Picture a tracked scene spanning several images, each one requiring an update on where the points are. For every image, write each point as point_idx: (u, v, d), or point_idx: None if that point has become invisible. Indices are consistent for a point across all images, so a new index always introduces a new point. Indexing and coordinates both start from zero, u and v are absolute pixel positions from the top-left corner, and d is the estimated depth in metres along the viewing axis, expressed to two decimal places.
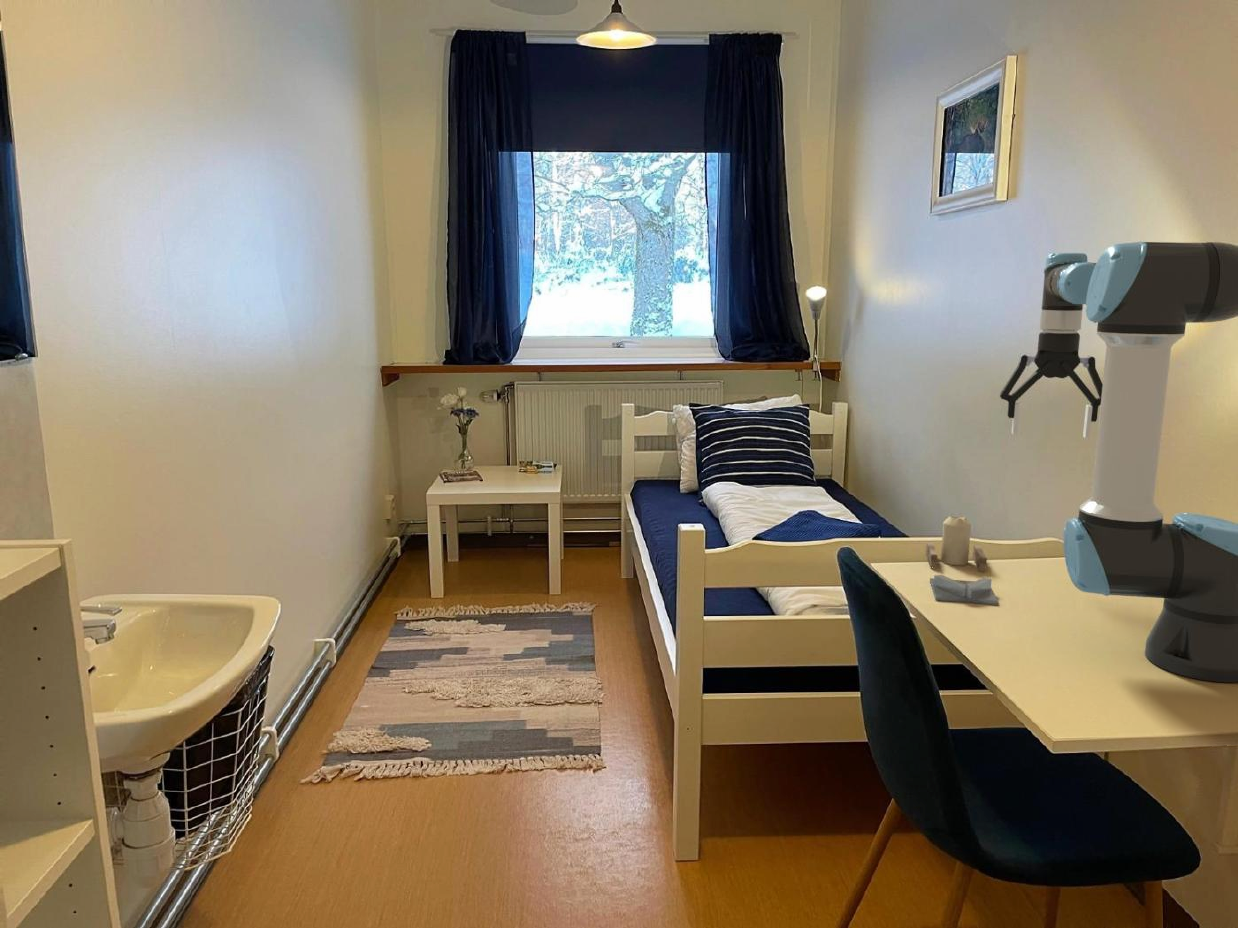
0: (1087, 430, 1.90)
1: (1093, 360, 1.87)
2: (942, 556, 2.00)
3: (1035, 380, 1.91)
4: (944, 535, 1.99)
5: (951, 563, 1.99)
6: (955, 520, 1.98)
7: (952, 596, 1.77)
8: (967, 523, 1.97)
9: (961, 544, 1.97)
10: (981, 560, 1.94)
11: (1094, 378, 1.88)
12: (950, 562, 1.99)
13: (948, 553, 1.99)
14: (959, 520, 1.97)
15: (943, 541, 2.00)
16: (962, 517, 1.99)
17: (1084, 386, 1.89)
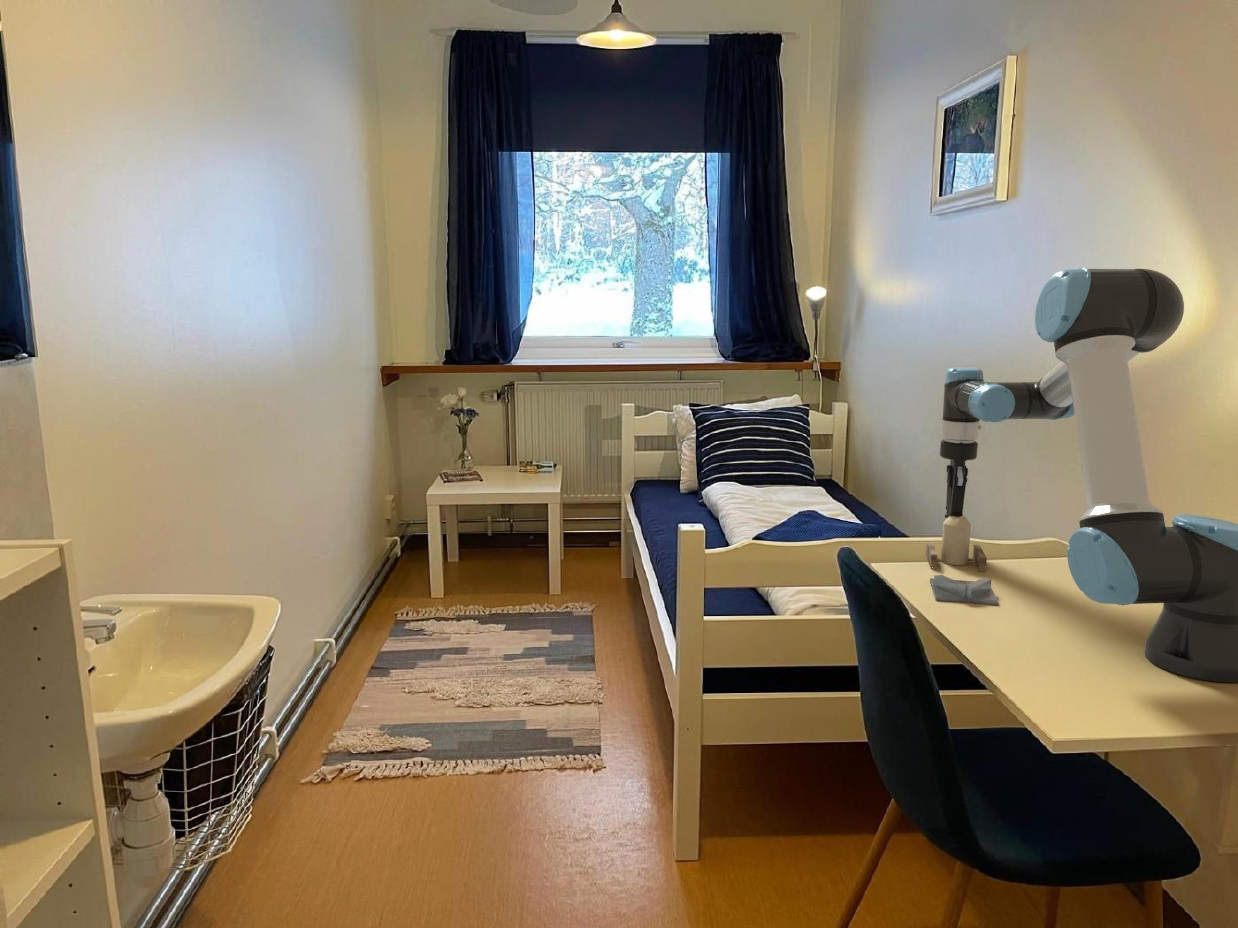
0: None
1: (954, 480, 1.98)
2: (942, 556, 2.00)
3: (949, 487, 2.05)
4: (944, 535, 1.99)
5: (951, 563, 1.99)
6: (955, 520, 1.98)
7: (952, 596, 1.77)
8: (967, 523, 1.97)
9: (961, 544, 1.97)
10: (981, 560, 1.94)
11: (952, 492, 2.00)
12: (950, 562, 1.99)
13: (948, 553, 1.99)
14: (959, 520, 1.97)
15: (943, 541, 2.00)
16: (962, 517, 1.99)
17: (950, 497, 2.03)
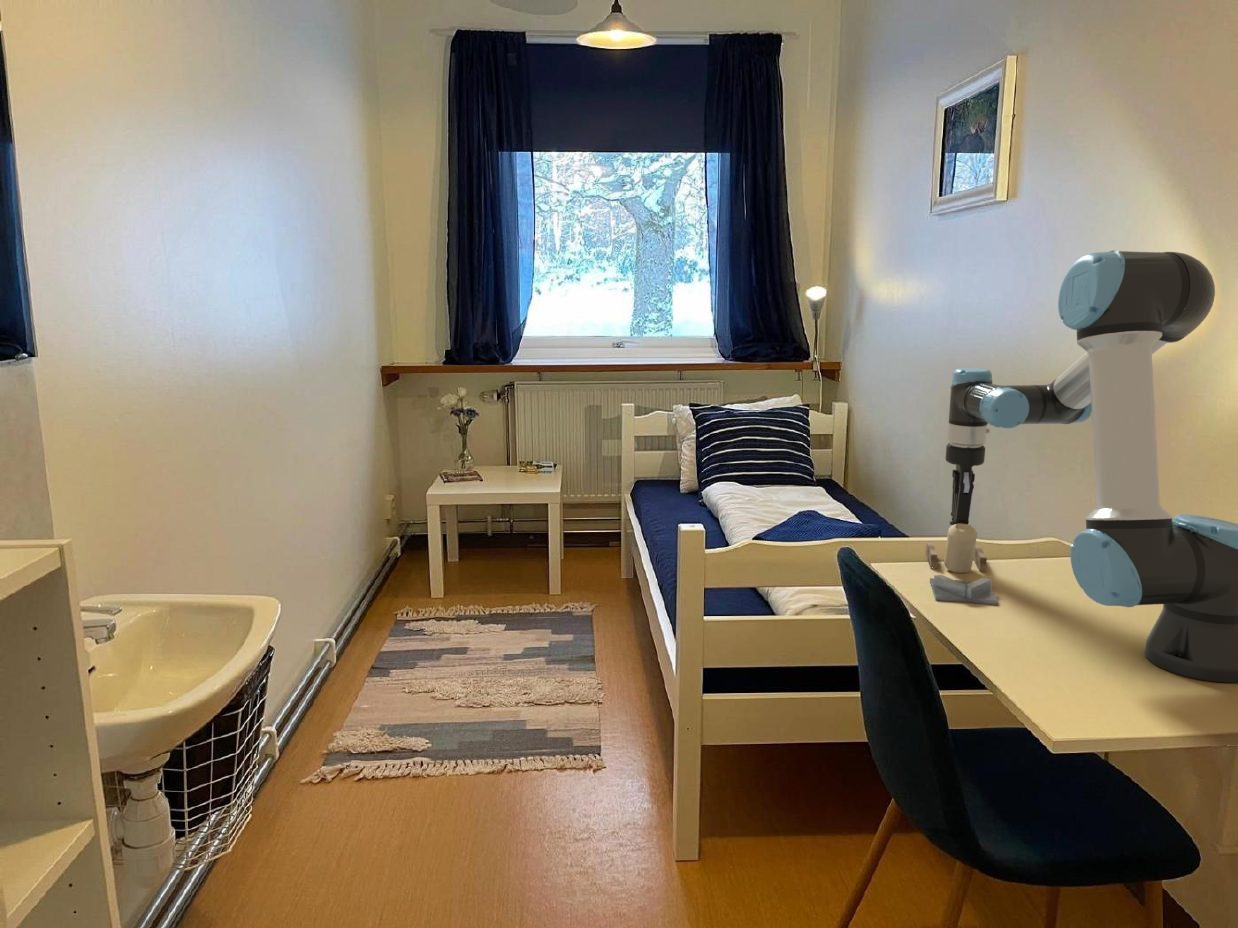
0: None
1: (960, 487, 1.89)
2: (945, 562, 1.94)
3: (955, 492, 1.96)
4: (948, 544, 1.92)
5: (954, 571, 1.93)
6: (960, 533, 1.89)
7: (952, 596, 1.77)
8: (973, 535, 1.89)
9: (966, 555, 1.90)
10: (981, 560, 1.94)
11: (957, 499, 1.92)
12: (953, 570, 1.93)
13: (951, 562, 1.92)
14: (965, 533, 1.89)
15: (947, 549, 1.93)
16: (968, 525, 1.90)
17: (955, 503, 1.94)
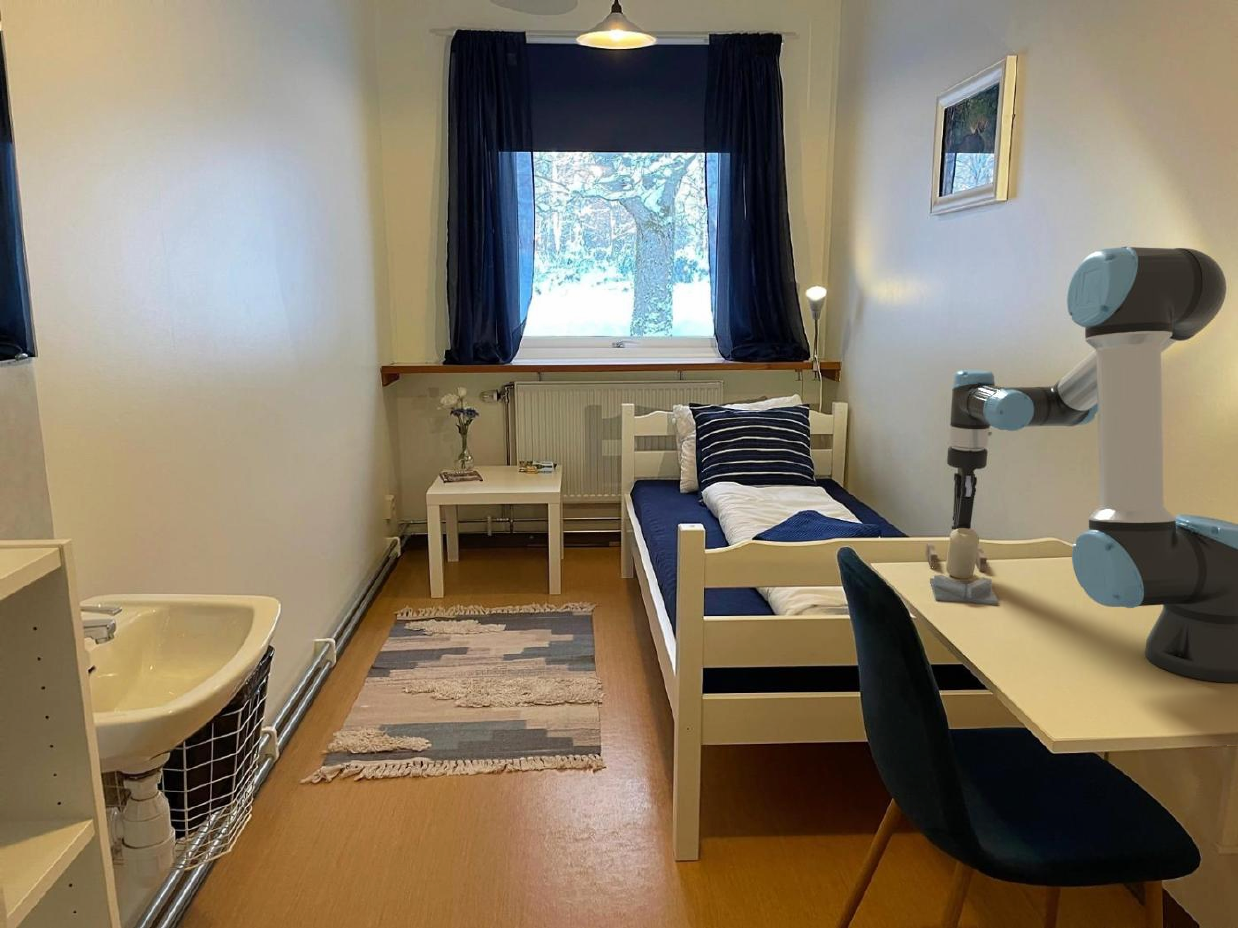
0: None
1: (962, 491, 1.86)
2: (947, 567, 1.91)
3: (956, 496, 1.93)
4: (950, 549, 1.88)
5: (956, 576, 1.90)
6: (963, 537, 1.86)
7: (952, 596, 1.77)
8: (975, 539, 1.86)
9: (968, 560, 1.87)
10: (981, 560, 1.94)
11: (959, 503, 1.88)
12: (955, 575, 1.90)
13: (953, 567, 1.89)
14: (967, 538, 1.85)
15: (949, 554, 1.89)
16: (970, 530, 1.87)
17: (957, 507, 1.91)
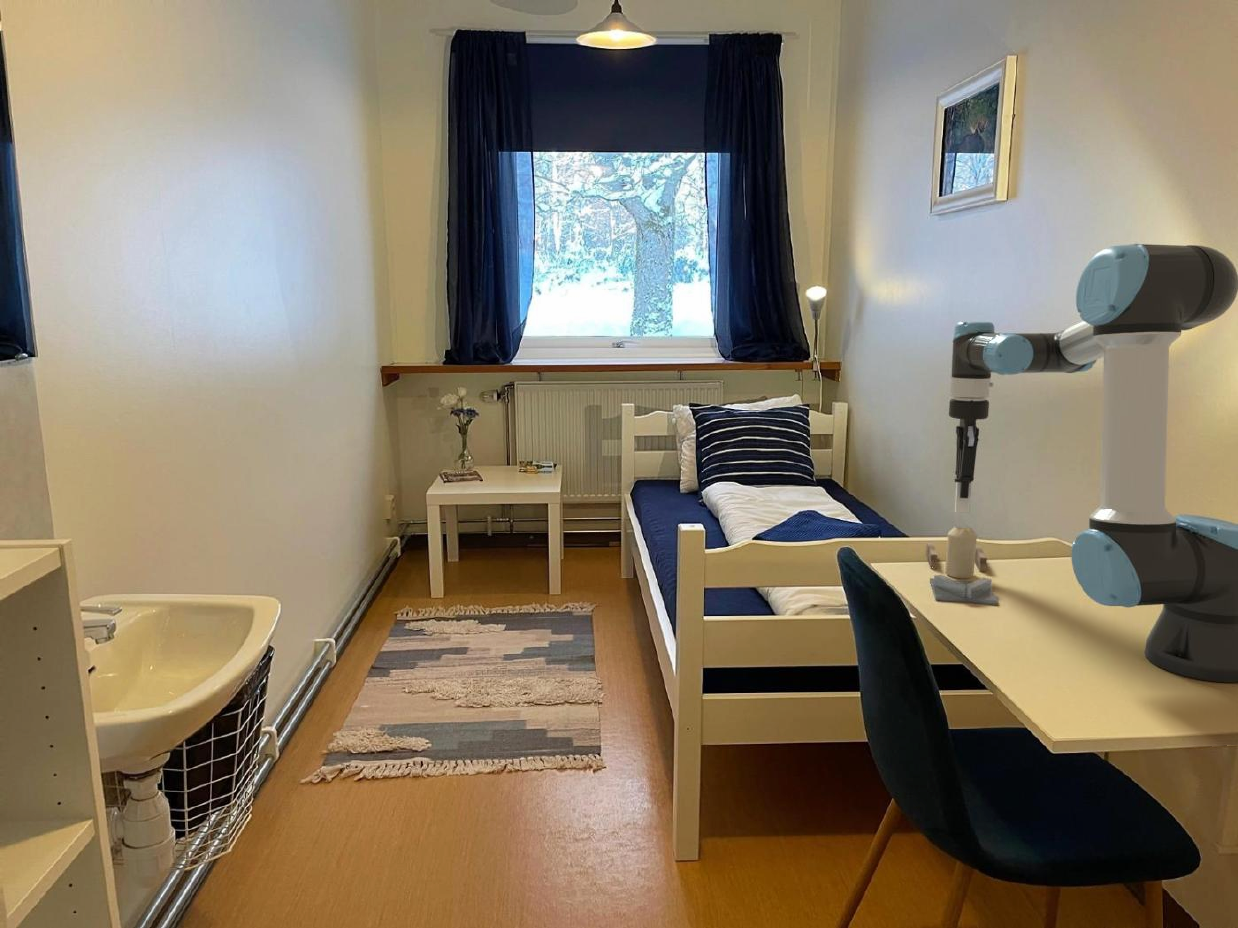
0: (955, 504, 1.94)
1: (964, 440, 1.86)
2: (947, 568, 1.92)
3: (959, 449, 1.93)
4: (949, 547, 1.91)
5: (956, 576, 1.90)
6: (960, 531, 1.89)
7: (952, 596, 1.77)
8: (973, 534, 1.89)
9: (967, 556, 1.89)
10: (981, 560, 1.94)
11: (962, 454, 1.89)
12: (955, 575, 1.90)
13: (953, 565, 1.90)
14: (964, 531, 1.89)
15: (948, 553, 1.91)
16: (967, 528, 1.91)
17: (960, 459, 1.91)
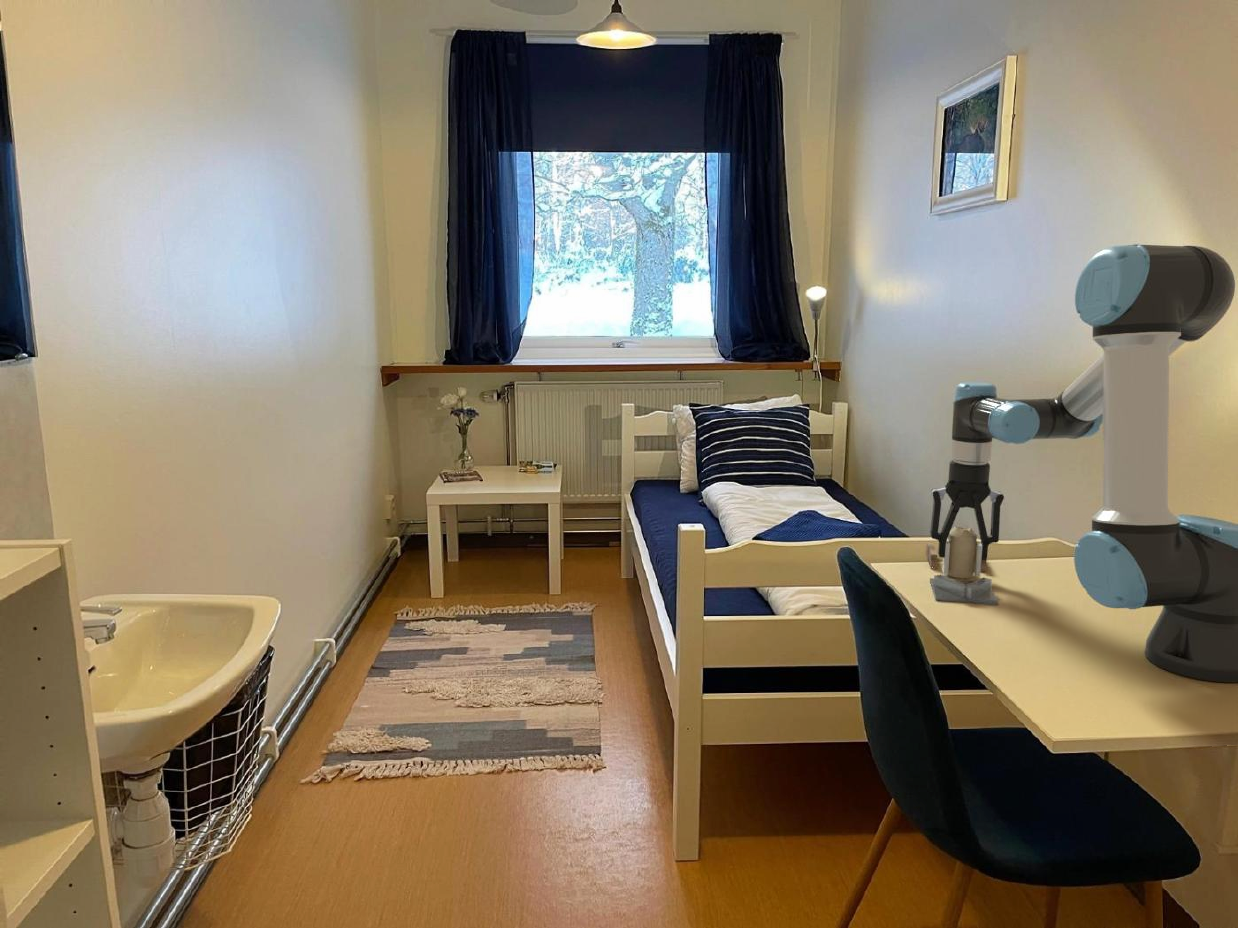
0: (978, 569, 1.88)
1: (1001, 498, 1.85)
2: None
3: (955, 514, 1.87)
4: None
5: (956, 576, 1.90)
6: (960, 531, 1.89)
7: (952, 596, 1.77)
8: (973, 534, 1.89)
9: (967, 556, 1.89)
10: (981, 560, 1.94)
11: (994, 515, 1.85)
12: (955, 575, 1.90)
13: (953, 565, 1.90)
14: (965, 531, 1.89)
15: None
16: (968, 528, 1.91)
17: (983, 522, 1.86)
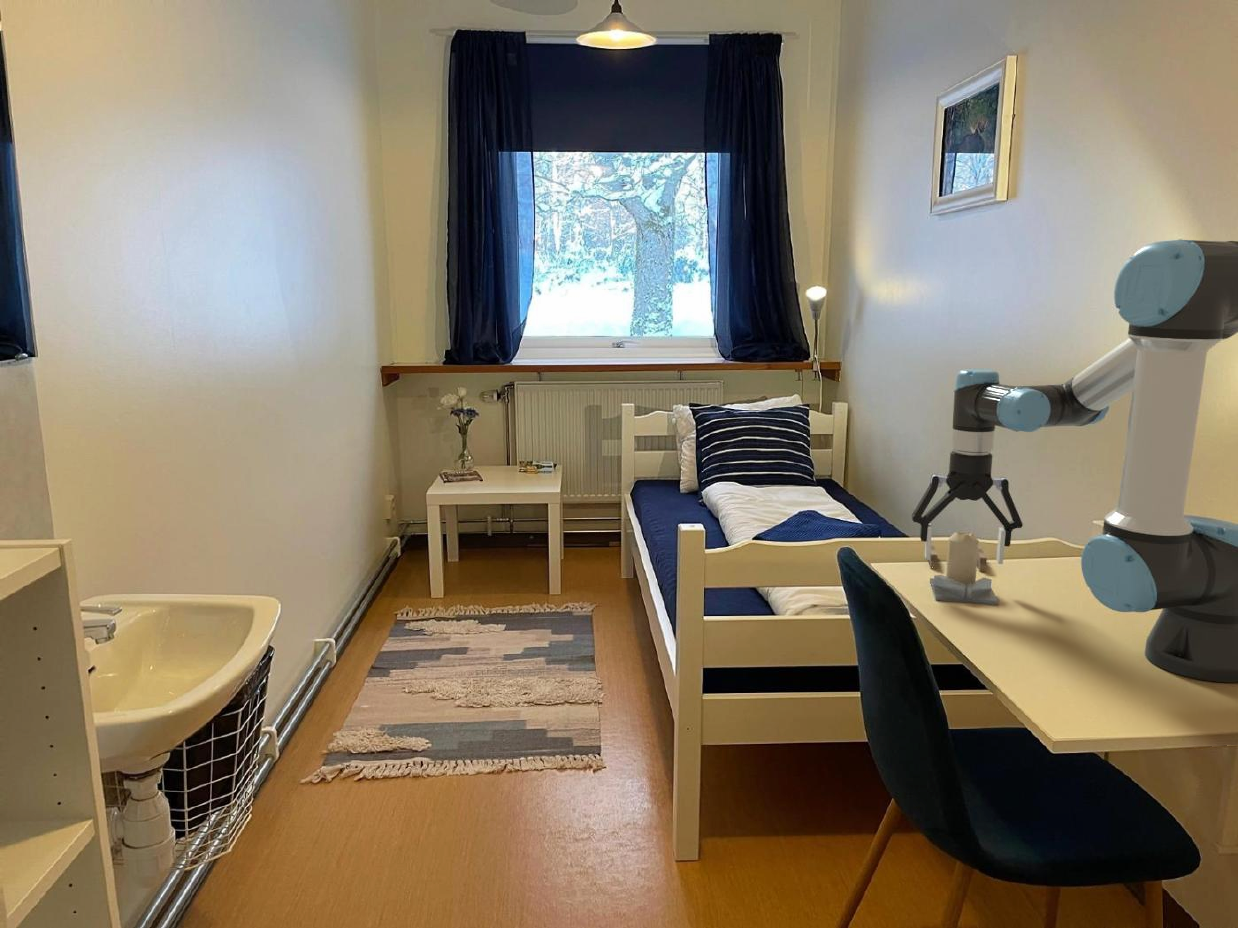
0: (1000, 555, 1.79)
1: (1006, 483, 1.77)
2: (947, 575, 1.84)
3: (947, 502, 1.80)
4: (950, 553, 1.83)
5: None
6: (962, 536, 1.82)
7: (952, 596, 1.77)
8: (975, 539, 1.82)
9: (969, 562, 1.82)
10: (981, 560, 1.94)
11: (1007, 501, 1.77)
12: None
13: (954, 572, 1.83)
14: (966, 536, 1.82)
15: (948, 559, 1.84)
16: (969, 533, 1.84)
17: (997, 509, 1.78)
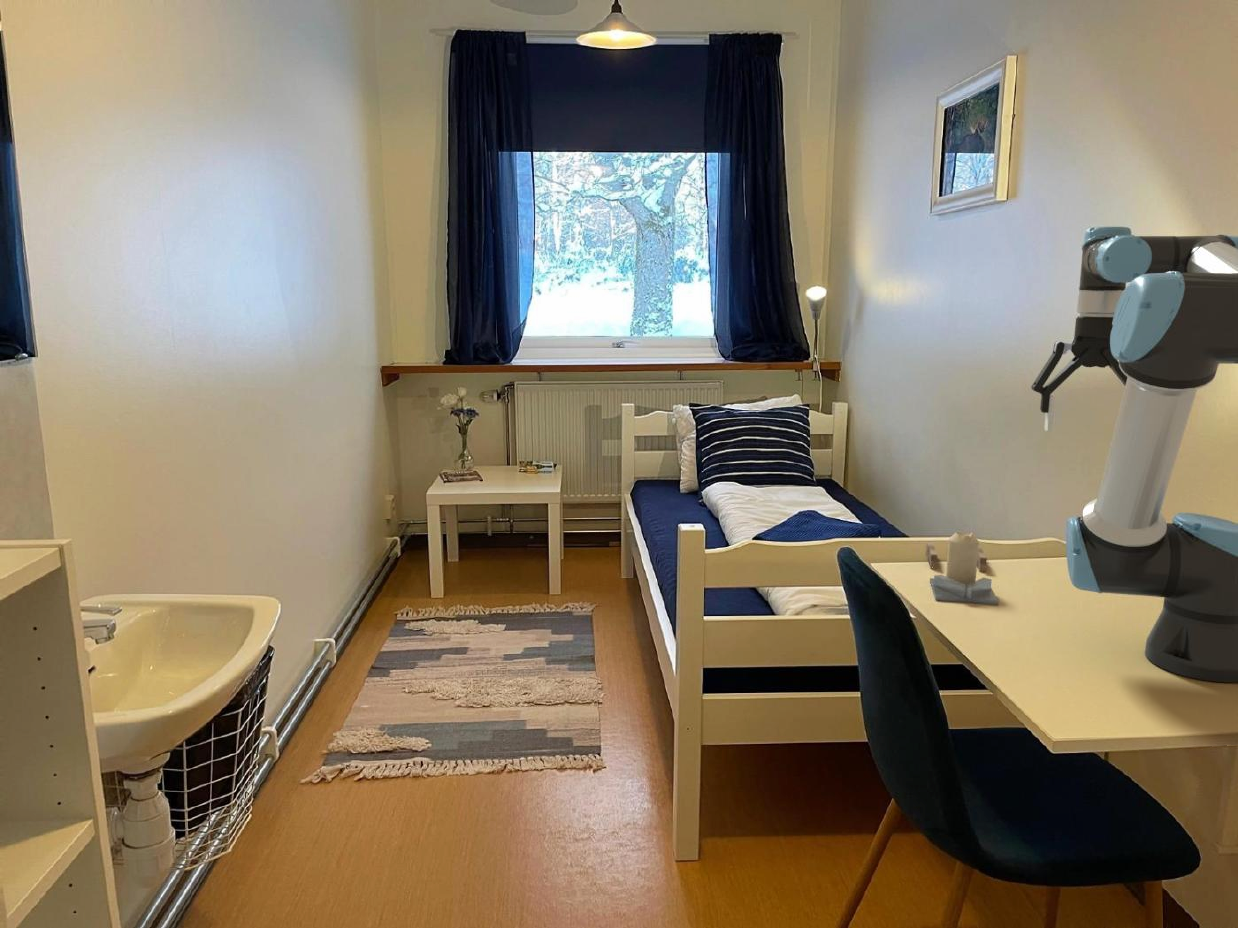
0: None
1: None
2: (947, 576, 1.84)
3: (1072, 370, 1.71)
4: (950, 553, 1.83)
5: None
6: (962, 537, 1.82)
7: (952, 596, 1.77)
8: (975, 540, 1.82)
9: (969, 563, 1.81)
10: (981, 560, 1.94)
11: None
12: None
13: (954, 573, 1.83)
14: (966, 537, 1.81)
15: (949, 560, 1.84)
16: (969, 533, 1.84)
17: (1127, 376, 1.69)
